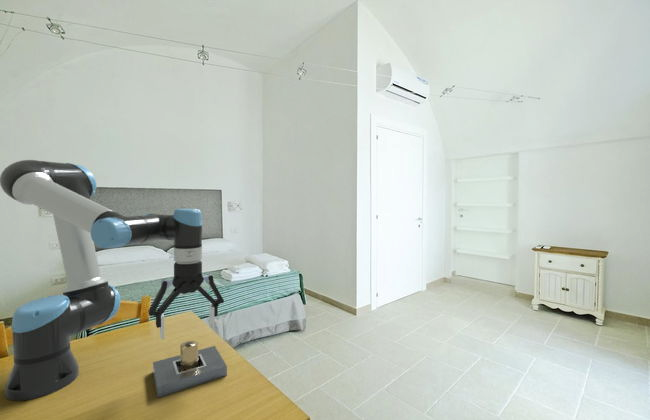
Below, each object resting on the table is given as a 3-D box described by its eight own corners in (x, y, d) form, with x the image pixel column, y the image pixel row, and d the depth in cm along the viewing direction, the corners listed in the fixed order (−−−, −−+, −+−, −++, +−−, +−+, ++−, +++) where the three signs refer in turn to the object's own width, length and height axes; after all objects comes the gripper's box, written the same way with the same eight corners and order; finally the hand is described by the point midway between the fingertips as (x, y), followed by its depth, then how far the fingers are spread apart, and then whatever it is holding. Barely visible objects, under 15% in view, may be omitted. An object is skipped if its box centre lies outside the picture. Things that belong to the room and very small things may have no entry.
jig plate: (153, 371, 91) (152, 361, 90) (214, 354, 101) (214, 345, 101) (157, 397, 79) (157, 386, 79) (226, 375, 89) (226, 365, 89)
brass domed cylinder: (179, 372, 90) (179, 342, 90) (196, 367, 93) (196, 338, 93) (182, 380, 86) (181, 349, 86) (199, 375, 89) (199, 345, 89)
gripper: (138, 269, 78) (139, 348, 79) (234, 259, 92) (233, 327, 93) (137, 263, 84) (138, 337, 85) (227, 255, 98) (226, 318, 99)
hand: (188, 332), depth 89 cm, fingers open, 13 cm apart
